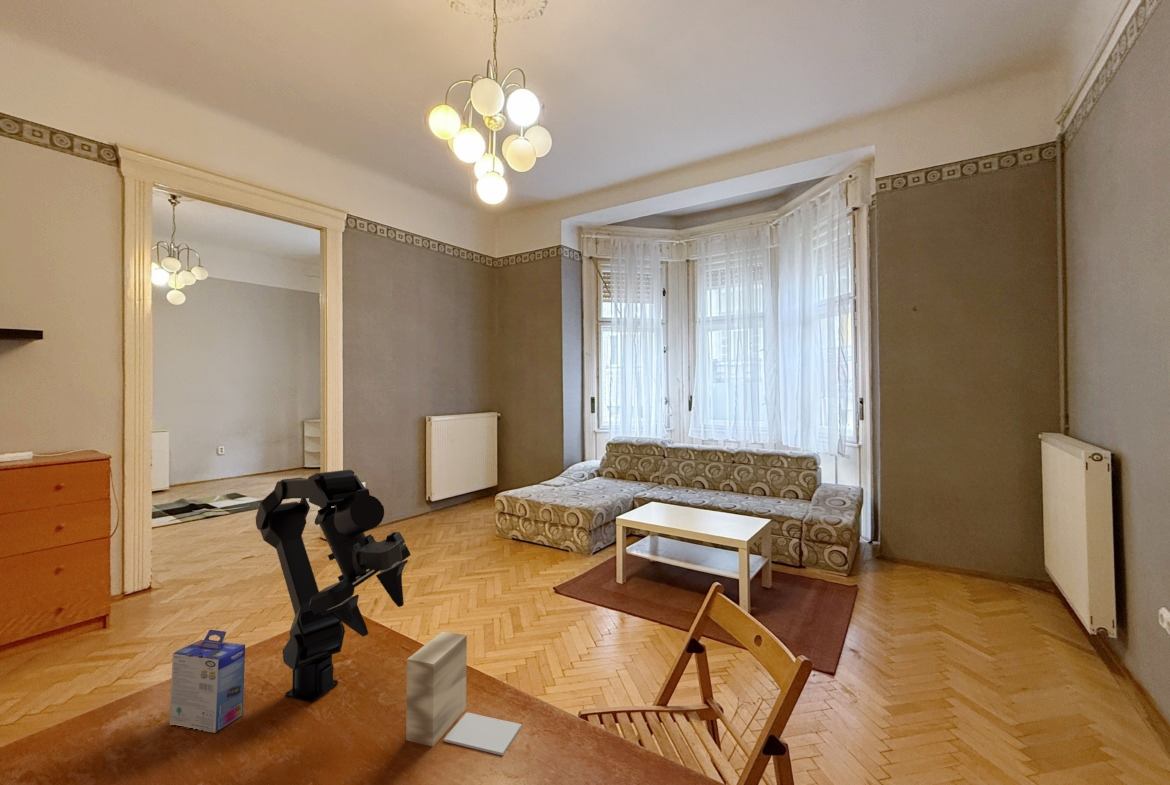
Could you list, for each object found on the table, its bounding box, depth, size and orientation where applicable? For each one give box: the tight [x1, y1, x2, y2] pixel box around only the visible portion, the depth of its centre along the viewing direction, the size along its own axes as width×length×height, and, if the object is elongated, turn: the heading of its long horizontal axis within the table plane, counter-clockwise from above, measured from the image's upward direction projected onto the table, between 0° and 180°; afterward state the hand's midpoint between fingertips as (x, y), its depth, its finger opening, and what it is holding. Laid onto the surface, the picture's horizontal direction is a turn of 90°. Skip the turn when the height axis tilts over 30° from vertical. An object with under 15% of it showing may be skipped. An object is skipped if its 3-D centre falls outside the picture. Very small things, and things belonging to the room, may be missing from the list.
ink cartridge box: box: [168, 629, 246, 734], centre depth 84 cm, size 10×6×14 cm, turn 78°
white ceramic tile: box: [443, 712, 523, 756], centre depth 80 cm, size 10×7×1 cm, turn 73°
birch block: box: [405, 631, 468, 747], centre depth 83 cm, size 5×10×13 cm, turn 163°
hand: (384, 620), depth 86 cm, fingers open, 9 cm apart
